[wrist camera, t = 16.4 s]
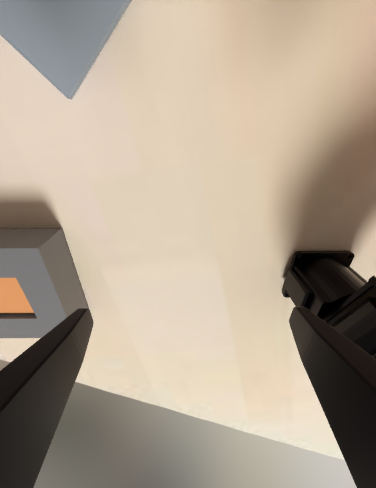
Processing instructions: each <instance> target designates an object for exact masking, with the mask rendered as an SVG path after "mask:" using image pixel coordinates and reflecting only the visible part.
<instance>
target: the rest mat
mask: <svg viewBox="0 0 376 488" xmlns="http://www.w3.org/2000/svg"><path fill="white" fill-rule="evenodd" d="M130 2H131V0H0V35H1V36H2V37H3V38H4V39H5V40H7V41H8V42H9V43H10V44H11V45H12V46H13V47H14V48H15V49H16V50H17V51H18V52H19V53H20V54H21V55H22V56H23V57H24V58H26V59H27V60H28V61H29V62H30V63H31V64H32V65H33V66H34V67H35V68H36V69H37V70H38V71H39V72H40V73H41V74H42V75H44V76H45V77H46V78H47V79H48V80H49V81H50V82H51V83H52V84H53V85H54V86H55V87H56V88H57V89H58V90H59V91H60V92H61V93H63V94H64V95H65V96H66V97H67V98H68V99H72V98H73V96H74V95H75V93H76V91H77V90H78V88H79V86H80V85H81V83H82V81H83V80H84V78H85V76H86V75H87V73H88V71H89V70H90V68H91V66H92V65H93V63H94V61H95V60H96V58H97V56H98V55H99V53H100V51H101V50H102V48H103V46H104V45H105V43H106V41H107V40H108V38H109V36H110V35H111V33H112V31H113V30H114V28H115V26H116V25H117V23H118V21H119V20H120V18H121V17H122V15H123V13H124V12H125V10H126V8H127V7H128V5H129V3H130Z"/></svg>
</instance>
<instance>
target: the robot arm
mask: <svg viewBox="0 0 376 488" xmlns="http://www.w3.org/2000/svg"><path fill="white" fill-rule="evenodd" d="M299 255H300V256H299ZM298 256H299V257H298ZM353 258H354V254H353V253H352V252H351V251H298V252H296V253H295V254H294V256H293V259H292V262H291V266H290V269H289V270H288V273H287V276H286V279H285V282H284V288H283V291H282V294H283V296H284V297H290V298H291V299H292V301H293V302H294V304H295V306H296V307H294V308H293V311H292V313H291V316H290V319H289V323H290V327H291V330H292V333H293V336H294V339H295V342H296V345H297V348H298V352H299V355H300V357H301V360H302V362H303V365H304V367H305V370H306V372H307V374H308V376H309V379H310V381H311V383H312V386H313V388H314V390H315V392H316V395H317V397H318V399H319V402H320V404H321V406H322V408H323V411H324V413H325V415H326V418H327V420H328V422H329V424H330V427H331V429H332V431H333V434H334V436H335V438H336V441H337V443H338V445H339V447H340V450H341V452H342V454H343V457H344V459H345V461H346V463H347V466H348V468H349V470H350V473H351V475H352V477H353V479H354V482H355V484H356V486H357V488H376V277H375V276H372V277H371V278H370V279H369V281H368V282H367V281H366V280H365V279H363V278H362V277H361V276H360V275H359V274H358V273H356V272H355V271H354V270H353V269H352V268H351V267H349V266H350V264H351V262H352V260H353ZM286 293H287V294H286ZM92 327H93V319H92V316H91V313H90V310H89V309H88V308H78V309H77V310H75V311H74V312H73V313H72V314H70V315H69V316H68V317H67V318H65V319H64V320H63V321H62V322H61V323H59V324H58V325H57V326H56V327H54V328H53V329H52V330H51V331H49V332H48V333H47V334H46V335H44V336H43V337H42V338H41V339H39V340H38V341H37V342H36V343H34V344H33V345H32V346H31V347H29V348H28V349H27V350H26V351H24V352H23V353H22V354H21V355H19V356H18V357H17V358H16V359H14V360H13V361H12V362H11V363H10V364H8V365H7V366H6V367H5V368H3V369H2V370H1V371H0V488H33V487H34V484H35V482H36V479H37V477H38V474H39V472H40V469H41V467H42V464H43V461H44V459H45V456H46V454H47V451H48V449H49V446H50V444H51V441H52V439H53V436H54V433H55V431H56V428H57V426H58V423H59V421H60V418H61V416H62V413H63V411H64V408H65V406H66V403H67V401H68V398H69V396H70V393H71V390H72V388H73V385H74V383H75V380H76V378H77V375H78V373H79V370H80V368H81V365H82V362H83V359H84V356H85V352H86V349H87V345H88V342H89V338H90V335H91V331H92Z"/></svg>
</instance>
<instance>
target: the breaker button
mask: <svg viewBox="0 0 376 488" xmlns="http://www.w3.org/2000/svg"><path fill="white" fill-rule="evenodd" d="M0 313H34V311H33V309H32V308H31V306H30V304H29V302H28V300H27V298H26V296H25V294H24V292H23V290H22V288H21V287H20V285H19V283H18V281H17V279H16V278H0Z"/></svg>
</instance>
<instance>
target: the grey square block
mask: <svg viewBox="0 0 376 488" xmlns="http://www.w3.org/2000/svg"><path fill="white" fill-rule="evenodd" d="M0 278H16V279H17V281H18V283H19V285H20V287H21V288H22V290H23V292H24V294H25V296H26V298H27V300H28V302H29V304H30V306H31V308H32V309H33V311H34V313H0V338H42V337H43V336H44V335H46V334H47V333H48V332H49V331H51V330H52V329H53V328H54V327H56V326H57V325H58V324H59V323H61V322H62V321H63V320H64V319H65V318H67V317H68V316H69V315H70V314H72V313H73V312H74V311H75V310H77V309H78V308H88V305H87V302H86V299H85V296H84V293H83V290H82V287H81V284H80V281H79V278H78V275H77V272H76V269H75V266H74V263H73V260H72V257H71V254H70V251H69V248H68V245H67V242H66V239H65V236H64V233H63V230H62V228H0ZM88 309H89V308H88Z"/></svg>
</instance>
